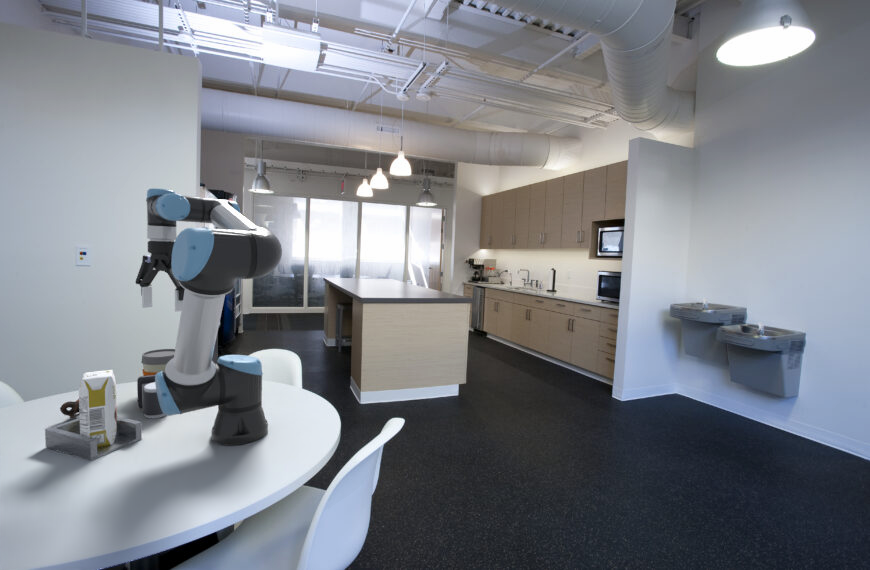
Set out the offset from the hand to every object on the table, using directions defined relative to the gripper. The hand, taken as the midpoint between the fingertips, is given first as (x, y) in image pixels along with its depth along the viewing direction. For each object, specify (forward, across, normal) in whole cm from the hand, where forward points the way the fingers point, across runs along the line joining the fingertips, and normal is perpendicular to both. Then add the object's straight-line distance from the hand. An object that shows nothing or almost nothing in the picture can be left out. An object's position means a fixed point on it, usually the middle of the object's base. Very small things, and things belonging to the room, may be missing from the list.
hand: (163, 309), depth 130 cm
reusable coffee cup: (+35, +20, -15) cm, 43 cm away
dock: (+35, 0, +20) cm, 40 cm away
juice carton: (+34, -1, +20) cm, 40 cm away
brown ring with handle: (+35, +22, +9) cm, 42 cm away
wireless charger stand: (+35, +6, -2) cm, 36 cm away
